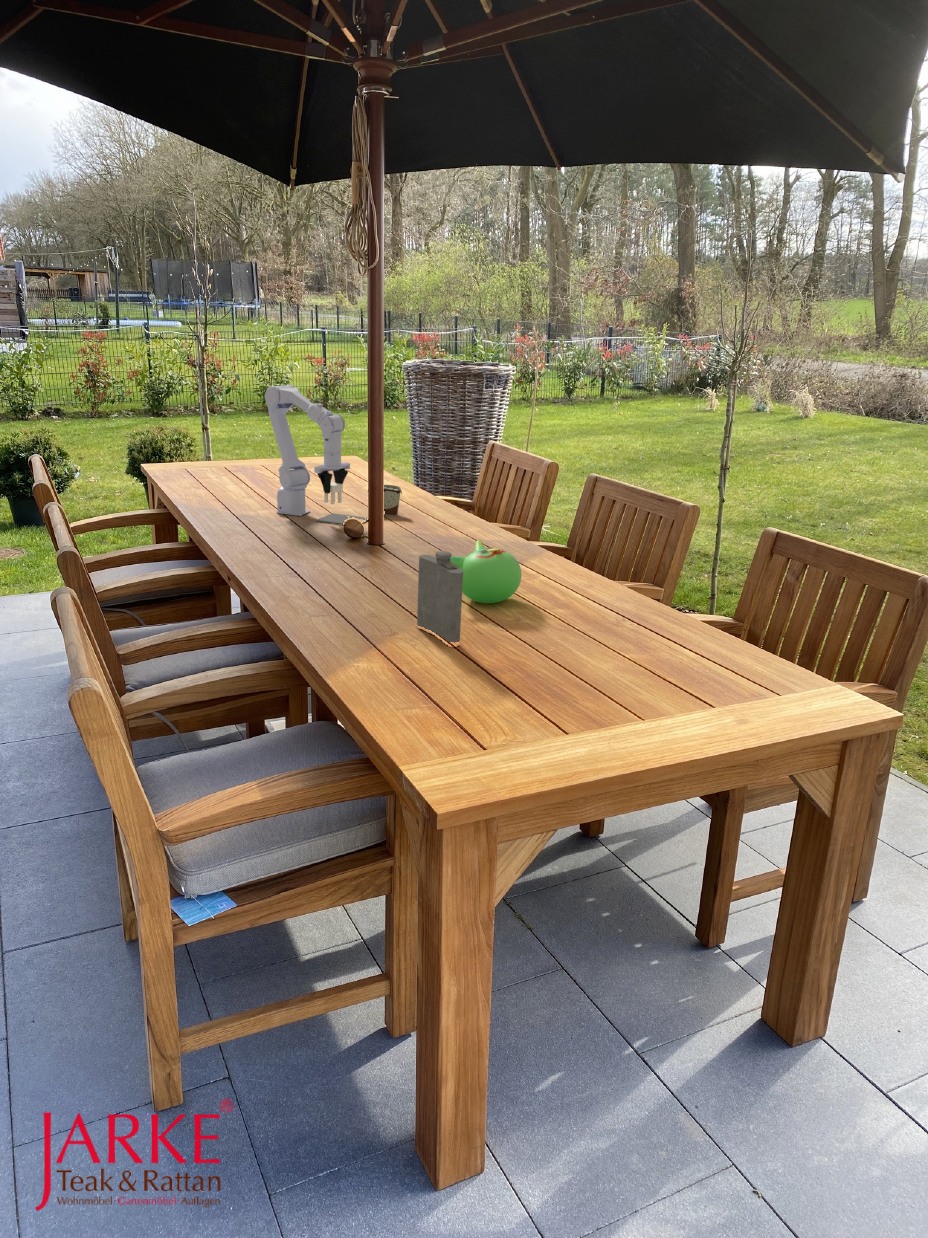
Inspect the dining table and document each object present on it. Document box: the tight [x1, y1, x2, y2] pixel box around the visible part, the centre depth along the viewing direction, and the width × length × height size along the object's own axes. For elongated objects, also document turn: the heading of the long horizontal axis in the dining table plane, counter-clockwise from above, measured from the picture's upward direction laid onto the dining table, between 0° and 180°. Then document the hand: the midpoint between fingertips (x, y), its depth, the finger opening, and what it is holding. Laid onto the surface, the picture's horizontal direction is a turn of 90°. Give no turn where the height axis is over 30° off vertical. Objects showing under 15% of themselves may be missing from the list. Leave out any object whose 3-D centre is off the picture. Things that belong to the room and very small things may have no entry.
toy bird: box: [450, 539, 522, 604], centre depth 231 cm, size 18×17×15 cm
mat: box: [315, 512, 368, 526], centre depth 310 cm, size 15×12×1 cm
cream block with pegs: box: [322, 481, 344, 505], centre depth 304 cm, size 5×5×6 cm
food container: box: [367, 484, 403, 517], centre depth 322 cm, size 12×6×10 cm, turn 84°
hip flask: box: [416, 550, 463, 643], centre depth 204 cm, size 16×4×20 cm, turn 33°
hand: (332, 492), depth 304 cm, fingers closed on cream block with pegs, 5 cm apart
